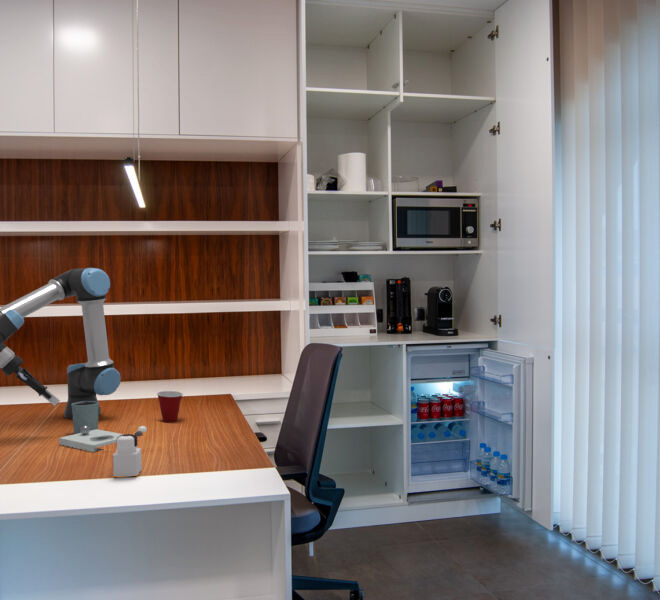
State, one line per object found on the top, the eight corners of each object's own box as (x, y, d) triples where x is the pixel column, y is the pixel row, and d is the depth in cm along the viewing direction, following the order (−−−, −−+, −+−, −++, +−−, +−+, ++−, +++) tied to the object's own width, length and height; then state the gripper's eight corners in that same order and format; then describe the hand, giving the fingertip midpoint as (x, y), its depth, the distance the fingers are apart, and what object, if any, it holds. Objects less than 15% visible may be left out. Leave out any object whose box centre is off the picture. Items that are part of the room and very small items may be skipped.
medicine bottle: (118, 471, 206) (117, 433, 205) (141, 470, 206) (141, 432, 206) (112, 478, 198) (112, 438, 198) (137, 477, 199) (136, 437, 199)
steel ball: (78, 435, 243) (77, 425, 243) (86, 433, 246) (86, 423, 246) (83, 436, 241) (83, 426, 241) (92, 434, 244) (92, 425, 244)
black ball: (132, 439, 246) (132, 431, 246) (139, 437, 249) (139, 429, 249) (138, 440, 244) (137, 432, 244) (144, 438, 247) (144, 430, 247)
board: (59, 444, 240) (59, 437, 240) (97, 435, 253) (97, 429, 253) (93, 452, 228) (93, 445, 228) (131, 442, 241) (131, 435, 241)
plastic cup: (177, 424, 271) (176, 395, 271) (152, 423, 273) (152, 394, 273) (188, 418, 282) (187, 390, 281) (164, 417, 284) (163, 390, 284)
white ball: (135, 435, 253) (135, 426, 252) (143, 433, 255) (142, 424, 255) (141, 436, 251) (141, 427, 250) (149, 434, 253) (148, 425, 253)
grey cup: (73, 437, 250) (72, 406, 249) (70, 432, 259) (69, 402, 258) (101, 434, 255) (101, 403, 254) (97, 429, 264) (97, 399, 263)
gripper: (1, 367, 251) (50, 407, 257) (-2, 371, 239) (49, 413, 245) (16, 352, 252) (64, 393, 259) (14, 356, 240) (64, 398, 247)
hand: (57, 403), depth 252 cm, fingers closed
